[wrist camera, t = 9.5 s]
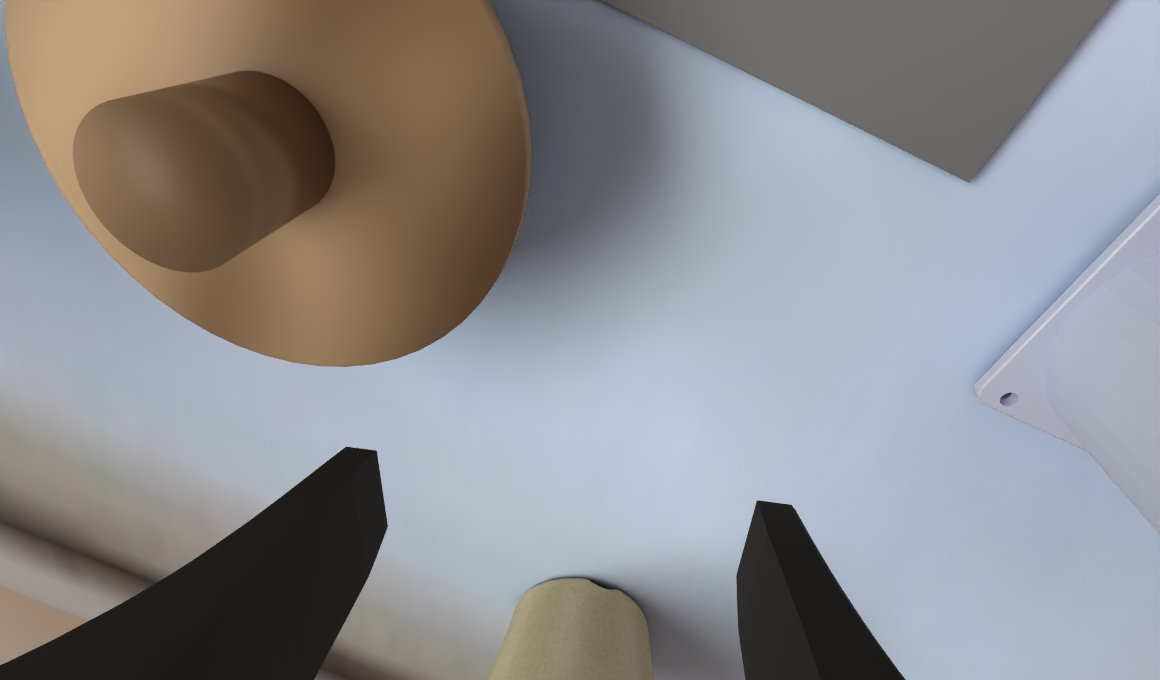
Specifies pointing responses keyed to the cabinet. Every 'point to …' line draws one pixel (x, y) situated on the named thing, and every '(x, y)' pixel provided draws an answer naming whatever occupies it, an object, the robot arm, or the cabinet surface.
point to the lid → (286, 159)
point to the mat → (894, 60)
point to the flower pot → (575, 635)
